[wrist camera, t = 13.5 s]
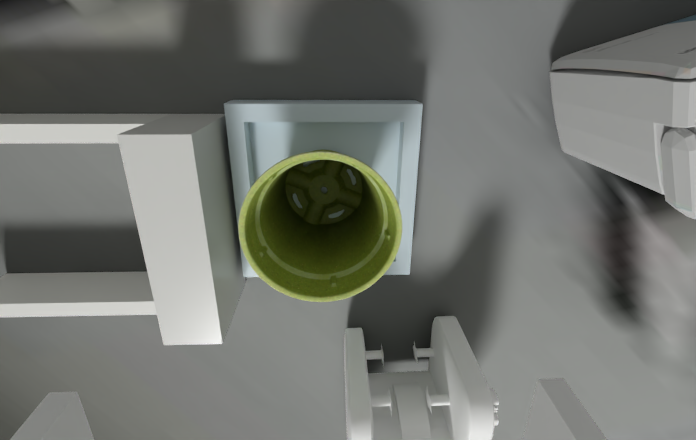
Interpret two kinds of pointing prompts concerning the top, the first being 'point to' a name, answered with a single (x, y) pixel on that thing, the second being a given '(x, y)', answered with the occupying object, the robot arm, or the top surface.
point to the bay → (149, 226)
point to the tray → (329, 147)
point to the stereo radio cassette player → (634, 109)
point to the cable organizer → (419, 391)
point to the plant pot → (320, 227)
